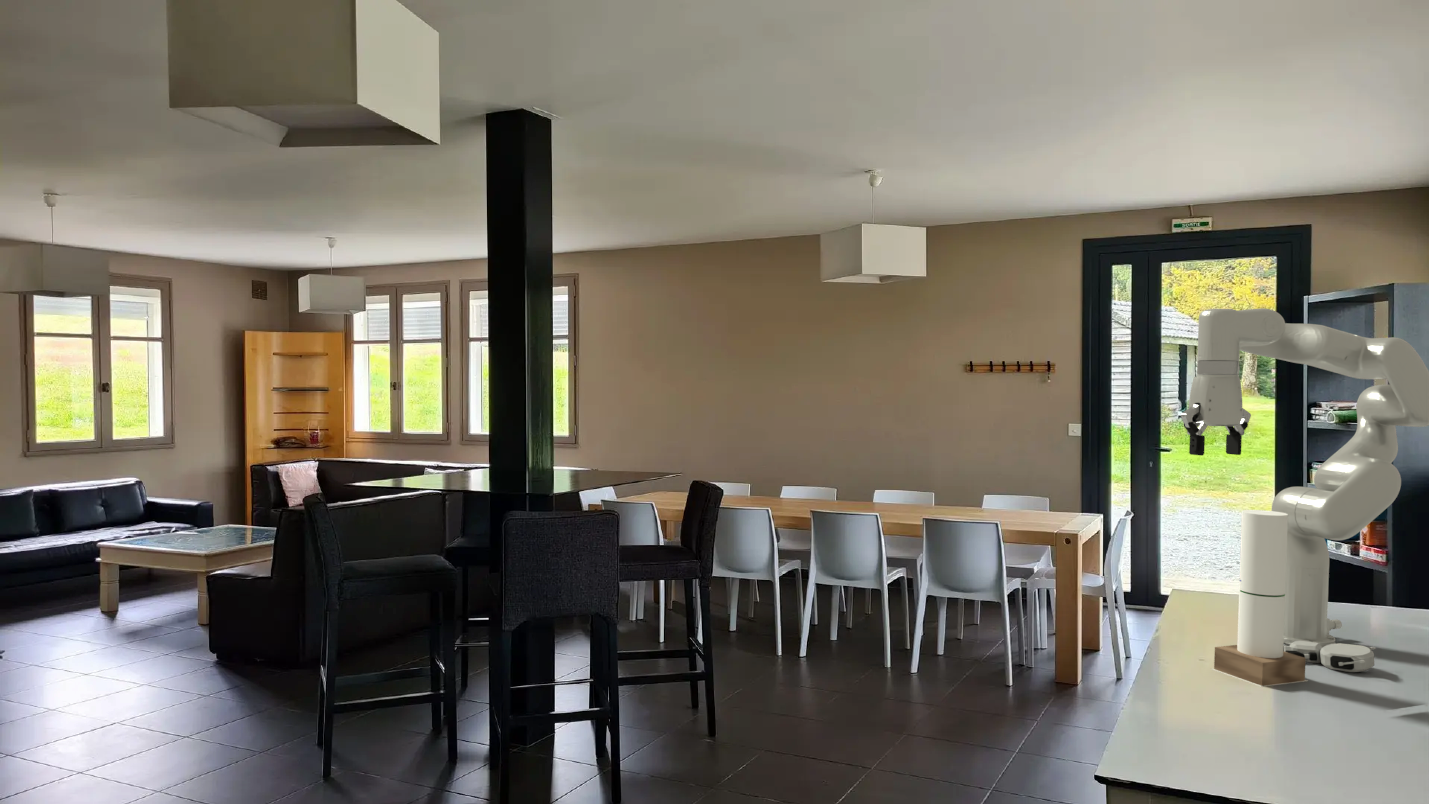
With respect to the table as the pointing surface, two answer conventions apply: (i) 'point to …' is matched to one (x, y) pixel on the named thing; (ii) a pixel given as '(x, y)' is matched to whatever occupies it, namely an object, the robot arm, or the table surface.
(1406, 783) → the table surface
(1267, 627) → the cylindrical container
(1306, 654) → the robot toy
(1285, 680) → the plinth
